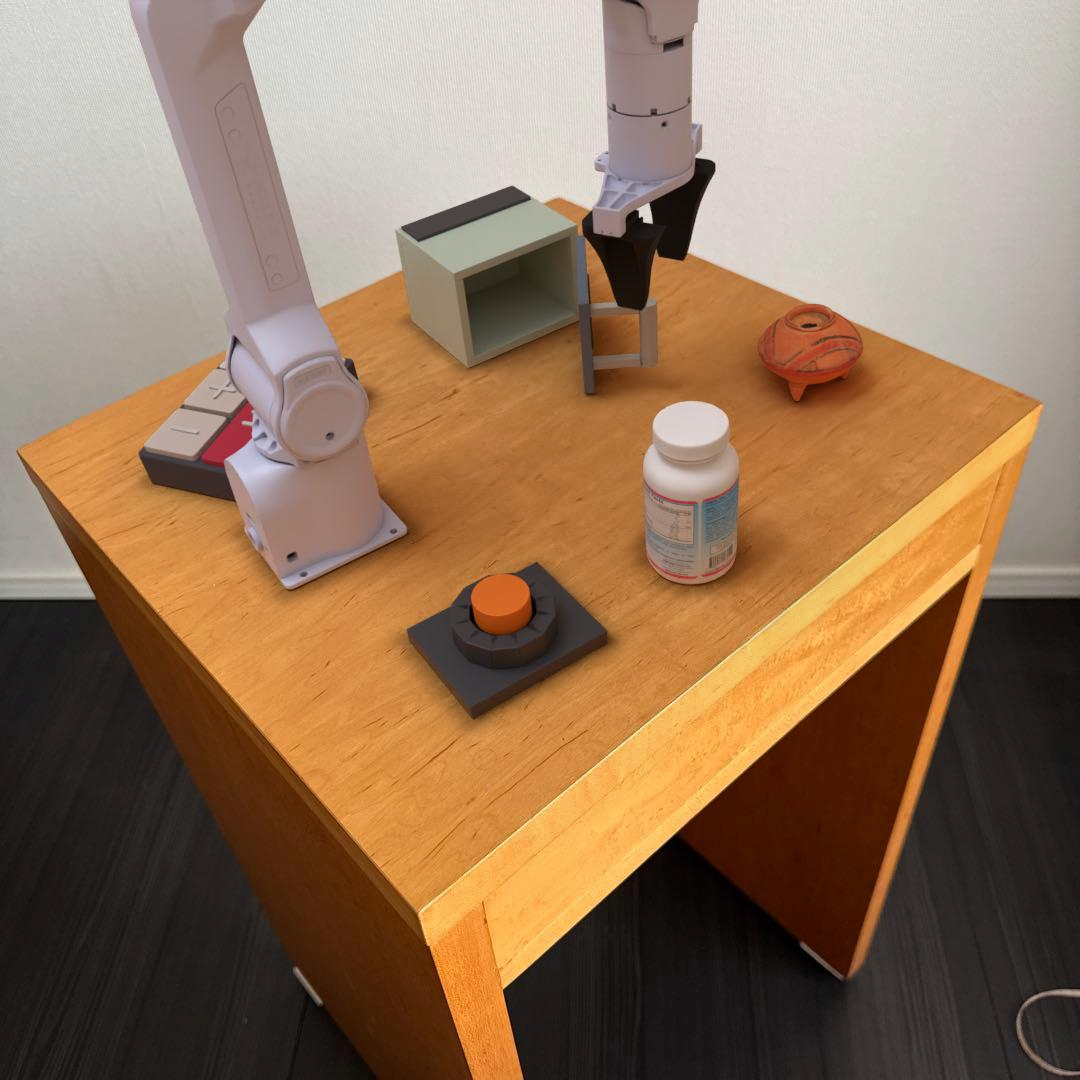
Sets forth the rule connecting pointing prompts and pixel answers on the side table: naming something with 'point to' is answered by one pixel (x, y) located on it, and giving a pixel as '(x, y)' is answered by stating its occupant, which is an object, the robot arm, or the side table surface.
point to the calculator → (203, 437)
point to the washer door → (588, 310)
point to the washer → (490, 274)
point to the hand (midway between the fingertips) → (652, 281)
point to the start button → (501, 604)
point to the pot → (810, 346)
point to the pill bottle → (691, 494)
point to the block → (506, 644)
